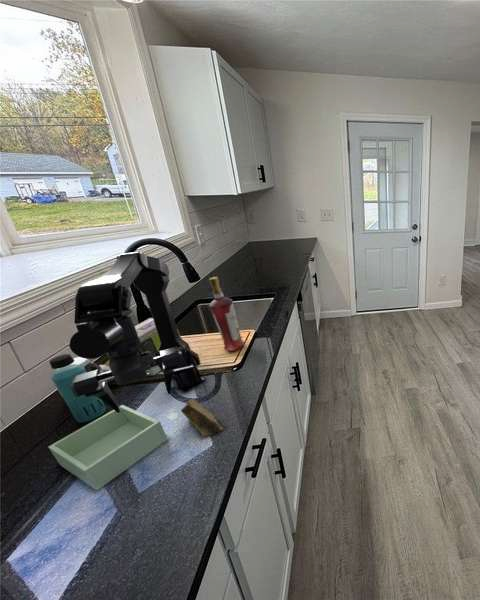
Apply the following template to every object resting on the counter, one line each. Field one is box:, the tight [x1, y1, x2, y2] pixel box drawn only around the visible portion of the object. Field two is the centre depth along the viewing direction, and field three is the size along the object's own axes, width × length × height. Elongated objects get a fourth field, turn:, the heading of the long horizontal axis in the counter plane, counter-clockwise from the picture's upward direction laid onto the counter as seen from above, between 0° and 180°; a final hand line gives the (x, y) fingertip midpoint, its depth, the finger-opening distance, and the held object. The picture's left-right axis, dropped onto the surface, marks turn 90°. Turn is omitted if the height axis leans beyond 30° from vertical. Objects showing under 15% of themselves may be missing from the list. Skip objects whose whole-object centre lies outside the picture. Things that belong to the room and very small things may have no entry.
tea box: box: [134, 317, 183, 377], centre depth 109 cm, size 15×10×15 cm
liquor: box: [208, 276, 245, 352], centre depth 113 cm, size 7×7×28 cm
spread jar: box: [56, 356, 115, 397], centre depth 97 cm, size 12×11×12 cm
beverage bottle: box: [48, 353, 107, 423], centre depth 83 cm, size 6×7×20 cm
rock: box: [180, 398, 224, 437], centre depth 81 cm, size 11×9×10 cm
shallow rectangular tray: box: [47, 404, 169, 491], centre depth 74 cm, size 15×17×6 cm
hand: (145, 402), depth 71 cm, fingers open, 9 cm apart
